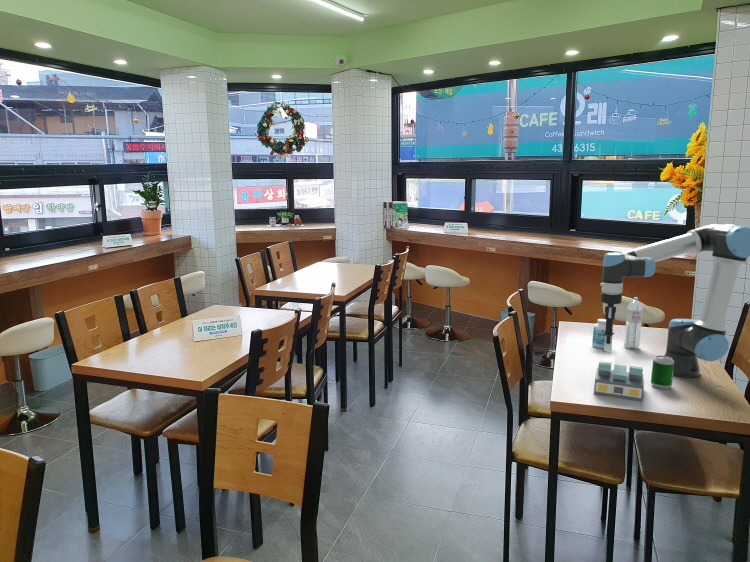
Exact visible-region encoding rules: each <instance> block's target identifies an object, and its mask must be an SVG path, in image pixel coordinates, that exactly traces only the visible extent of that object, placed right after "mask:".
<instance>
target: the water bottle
mask: <svg viewBox="0 0 750 562" xmlns="http://www.w3.org/2000/svg"><path fill="white" fill-rule="evenodd" d="M643 309H644V306H643V304H642V303H641V302H640V301H639V297H637V296H636V297H635V296H634V297H633V300H632V301H630V302H629V303H628V304H627V311H626V321H625V330H624V343H623V345H624V346H623V347H624V348H626V349H628V348H630V349H629V350H638V349H639V348H640V341H641V332H642V318H643Z"/></svg>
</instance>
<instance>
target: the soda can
mask: <svg viewBox="0 0 750 562" xmlns="http://www.w3.org/2000/svg"><path fill="white" fill-rule="evenodd" d="M673 370H674V360H673V359H672V358H671V357H668V356H664V355H657V356H656V355H655V357H654V358H653V360H652V369H651V376H650V378H651V379H650V384H651V385H652V386H653V388H656V389H660V390H668V389H669V388H671V387H672V385H673V379H674V378H673V377H674V375H673Z"/></svg>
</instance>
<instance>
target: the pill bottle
mask: <svg viewBox="0 0 750 562" xmlns="http://www.w3.org/2000/svg"><path fill="white" fill-rule="evenodd" d="M596 321H597V323H595V324H593V330H592V343H591V345H592V347H594V348H596V347H597V349H604V343H605V335H603V333H605V331H606V318H605V319H604V318H598V319H597V320H596Z"/></svg>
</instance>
